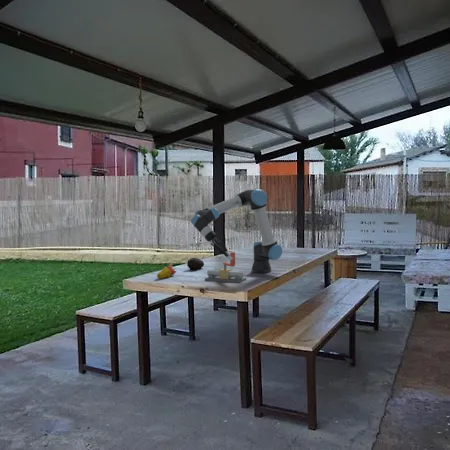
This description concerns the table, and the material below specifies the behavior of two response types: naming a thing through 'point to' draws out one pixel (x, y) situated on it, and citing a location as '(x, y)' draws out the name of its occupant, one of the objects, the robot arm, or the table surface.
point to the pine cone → (195, 264)
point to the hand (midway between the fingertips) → (231, 259)
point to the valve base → (225, 275)
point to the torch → (166, 272)
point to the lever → (232, 262)
